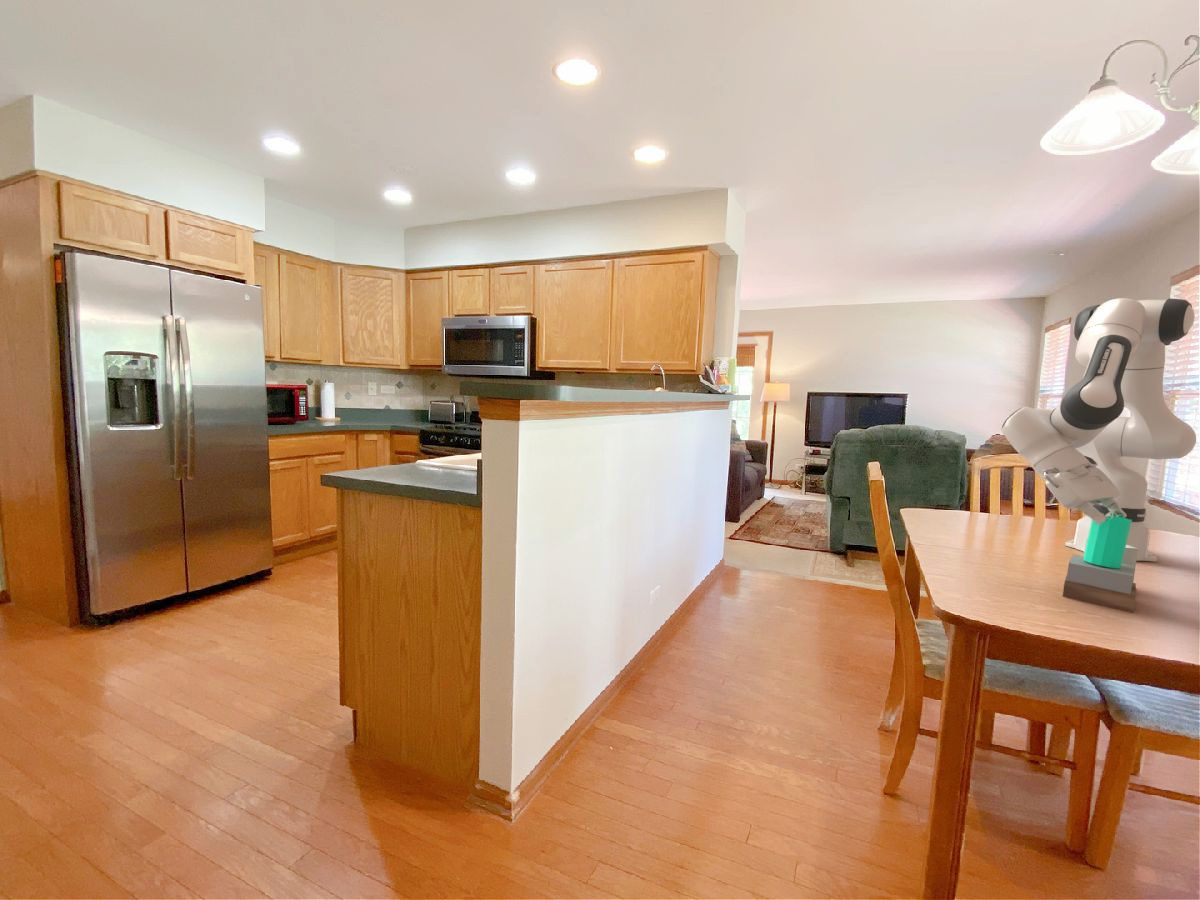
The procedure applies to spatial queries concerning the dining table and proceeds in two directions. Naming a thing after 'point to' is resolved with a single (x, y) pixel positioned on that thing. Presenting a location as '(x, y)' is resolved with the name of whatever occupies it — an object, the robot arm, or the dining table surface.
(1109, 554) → the candle
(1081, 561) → the tower top
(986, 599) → the dining table surface
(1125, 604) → the tower base
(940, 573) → the dining table surface
